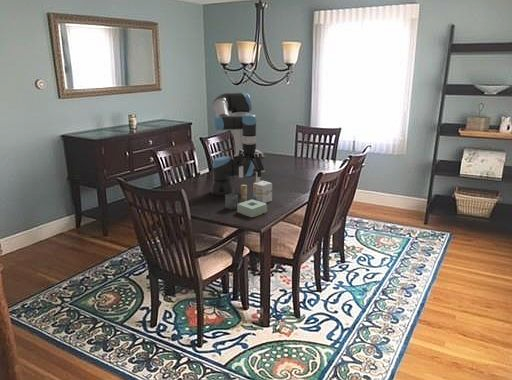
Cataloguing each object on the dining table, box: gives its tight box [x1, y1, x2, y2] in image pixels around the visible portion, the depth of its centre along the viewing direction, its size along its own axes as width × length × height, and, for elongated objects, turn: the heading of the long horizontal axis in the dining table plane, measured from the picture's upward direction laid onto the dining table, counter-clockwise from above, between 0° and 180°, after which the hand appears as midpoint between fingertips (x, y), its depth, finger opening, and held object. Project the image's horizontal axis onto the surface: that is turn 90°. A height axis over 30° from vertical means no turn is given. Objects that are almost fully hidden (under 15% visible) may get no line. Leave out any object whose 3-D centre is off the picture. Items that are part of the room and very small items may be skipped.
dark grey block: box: [224, 193, 239, 211], centre depth 238 cm, size 6×6×8 cm
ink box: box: [252, 180, 273, 204], centre depth 249 cm, size 9×8×12 cm
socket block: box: [236, 198, 268, 218], centre depth 231 cm, size 12×12×5 cm
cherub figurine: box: [252, 149, 266, 175], centre depth 320 cm, size 18×18×18 cm
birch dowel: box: [240, 184, 248, 203], centre depth 242 cm, size 4×4×12 cm
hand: (249, 179), depth 231 cm, fingers open, 13 cm apart
